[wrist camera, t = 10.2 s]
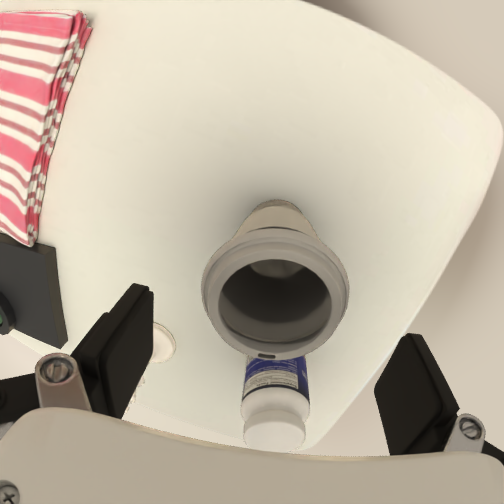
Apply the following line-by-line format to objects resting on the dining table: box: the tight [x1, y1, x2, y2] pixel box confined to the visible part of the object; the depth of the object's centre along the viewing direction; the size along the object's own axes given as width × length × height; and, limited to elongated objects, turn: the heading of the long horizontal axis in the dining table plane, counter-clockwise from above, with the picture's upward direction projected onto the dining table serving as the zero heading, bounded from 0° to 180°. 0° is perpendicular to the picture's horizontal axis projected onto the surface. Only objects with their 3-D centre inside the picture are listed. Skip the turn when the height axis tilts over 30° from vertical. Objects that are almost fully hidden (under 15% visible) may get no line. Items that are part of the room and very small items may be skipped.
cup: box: [201, 200, 349, 360], centre depth 19 cm, size 7×7×12 cm
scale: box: [0, 233, 68, 349], centre depth 28 cm, size 12×13×4 cm
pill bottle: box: [241, 355, 310, 453], centre depth 25 cm, size 6×6×10 cm
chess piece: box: [125, 323, 176, 413], centre depth 25 cm, size 5×5×10 cm
